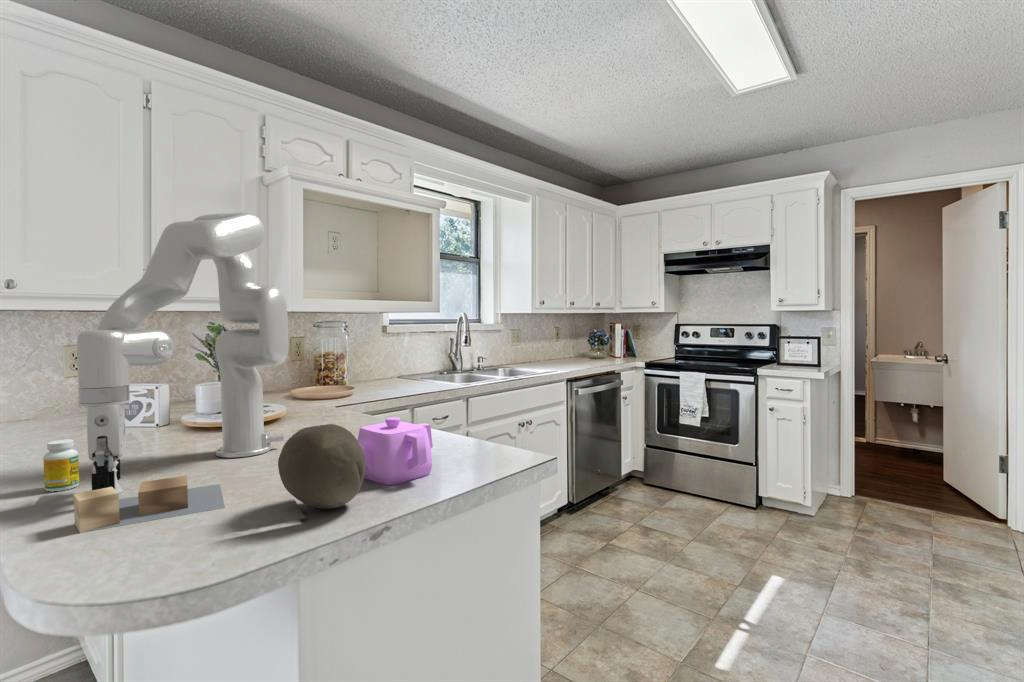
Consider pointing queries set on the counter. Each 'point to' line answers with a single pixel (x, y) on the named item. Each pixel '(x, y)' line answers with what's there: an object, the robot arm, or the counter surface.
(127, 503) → the slate mat
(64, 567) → the counter surface
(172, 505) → the wooden block
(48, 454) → the supplement bottle
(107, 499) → the oak block
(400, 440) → the teakettle
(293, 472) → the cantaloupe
